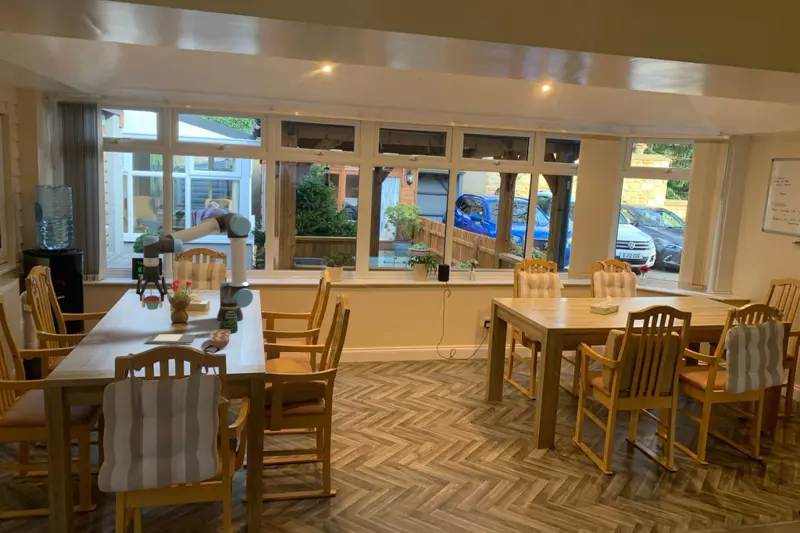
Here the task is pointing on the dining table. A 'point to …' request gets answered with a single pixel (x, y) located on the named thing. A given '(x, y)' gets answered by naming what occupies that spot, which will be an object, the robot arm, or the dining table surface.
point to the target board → (170, 338)
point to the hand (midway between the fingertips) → (152, 307)
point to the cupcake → (151, 301)
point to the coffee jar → (229, 315)
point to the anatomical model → (220, 338)
